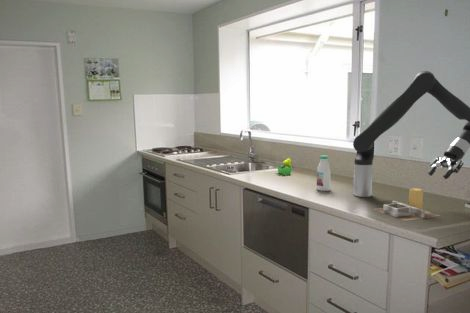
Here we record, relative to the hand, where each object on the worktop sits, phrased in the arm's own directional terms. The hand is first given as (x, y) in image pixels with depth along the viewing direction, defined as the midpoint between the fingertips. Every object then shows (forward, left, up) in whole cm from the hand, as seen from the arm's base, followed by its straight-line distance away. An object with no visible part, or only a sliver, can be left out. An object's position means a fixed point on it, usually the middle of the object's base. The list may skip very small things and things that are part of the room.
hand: (436, 176), depth 180 cm
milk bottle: (-57, -24, -16) cm, 64 cm away
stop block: (0, -12, -15) cm, 19 cm away
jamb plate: (0, -17, -16) cm, 24 cm away
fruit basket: (-110, -22, -16) cm, 113 cm away
